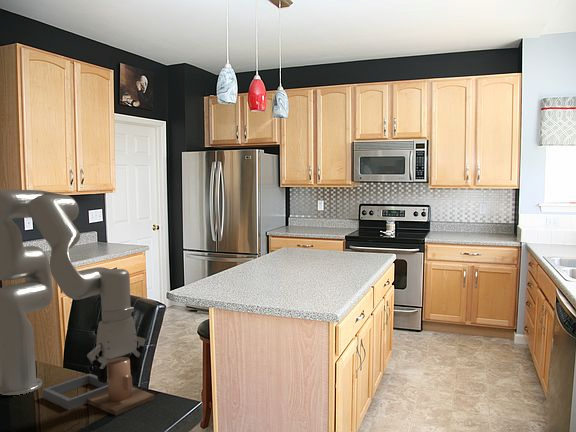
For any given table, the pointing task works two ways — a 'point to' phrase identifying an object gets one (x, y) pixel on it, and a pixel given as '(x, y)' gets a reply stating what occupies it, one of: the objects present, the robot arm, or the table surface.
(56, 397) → the holder frame
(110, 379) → the tan tapered capsule
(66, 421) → the table surface
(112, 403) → the board
